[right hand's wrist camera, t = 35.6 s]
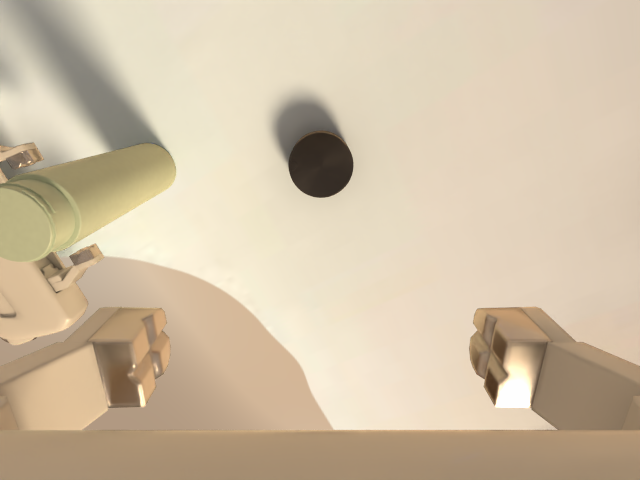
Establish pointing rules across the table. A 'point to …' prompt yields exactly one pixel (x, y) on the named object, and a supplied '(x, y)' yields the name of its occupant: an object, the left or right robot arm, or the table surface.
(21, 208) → the pale green tall cylinder
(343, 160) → the lid
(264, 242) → the table surface
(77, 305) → the left robot arm
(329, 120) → the table surface
